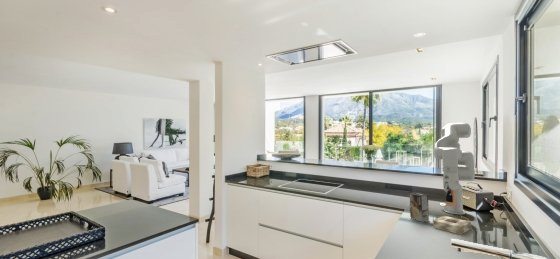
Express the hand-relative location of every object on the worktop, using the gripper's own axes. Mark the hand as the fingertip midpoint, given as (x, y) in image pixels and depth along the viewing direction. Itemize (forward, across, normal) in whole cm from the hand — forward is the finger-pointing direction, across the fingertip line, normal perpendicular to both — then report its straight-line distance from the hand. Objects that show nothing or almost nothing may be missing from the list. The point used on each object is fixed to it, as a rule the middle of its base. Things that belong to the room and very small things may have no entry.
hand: (451, 200), depth 147 cm
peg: (+3, 0, 0) cm, 3 cm away
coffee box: (+16, 0, +19) cm, 24 cm away
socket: (+16, 0, 0) cm, 16 cm away
